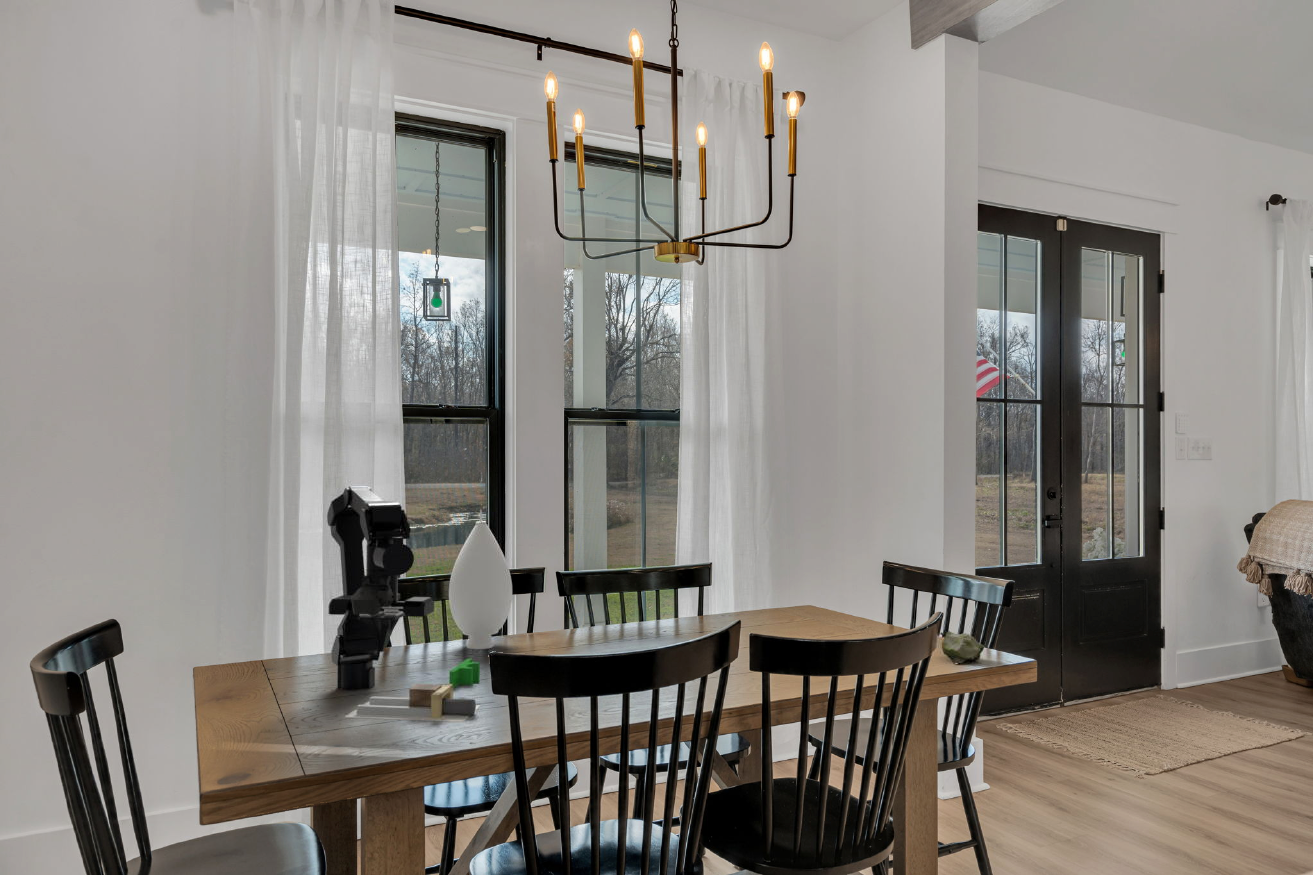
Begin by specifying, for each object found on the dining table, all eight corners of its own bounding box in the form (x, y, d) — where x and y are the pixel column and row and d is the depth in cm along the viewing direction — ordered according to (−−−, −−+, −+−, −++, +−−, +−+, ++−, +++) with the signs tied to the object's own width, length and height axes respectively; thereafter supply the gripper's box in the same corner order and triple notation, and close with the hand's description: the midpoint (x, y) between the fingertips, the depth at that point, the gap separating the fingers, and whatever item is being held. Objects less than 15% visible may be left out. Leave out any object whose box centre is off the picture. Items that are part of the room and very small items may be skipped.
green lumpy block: (933, 663, 211) (932, 630, 212) (966, 664, 213) (965, 631, 215) (957, 665, 202) (956, 630, 204) (991, 666, 205) (989, 631, 206)
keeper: (409, 713, 161) (409, 688, 161) (416, 707, 164) (416, 684, 164) (435, 714, 160) (435, 689, 161) (441, 708, 164) (441, 684, 164)
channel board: (344, 722, 159) (344, 693, 159) (368, 706, 169) (368, 679, 169) (463, 727, 156) (463, 697, 157) (480, 710, 166) (480, 682, 166)
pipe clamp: (466, 694, 179) (466, 672, 179) (449, 693, 179) (449, 671, 179) (483, 679, 190) (484, 658, 190) (467, 678, 190) (467, 657, 190)
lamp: (515, 651, 215) (516, 510, 216) (449, 655, 211) (451, 511, 212) (508, 638, 231) (509, 506, 231) (447, 641, 226) (448, 507, 227)
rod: (436, 716, 161) (433, 707, 159) (440, 704, 163) (437, 694, 162) (472, 718, 160) (469, 708, 159) (476, 705, 162) (473, 696, 161)
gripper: (314, 573, 157) (313, 660, 157) (412, 575, 155) (412, 663, 155) (343, 565, 168) (342, 646, 168) (435, 567, 166) (434, 649, 166)
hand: (381, 651), depth 164 cm, fingers closed
